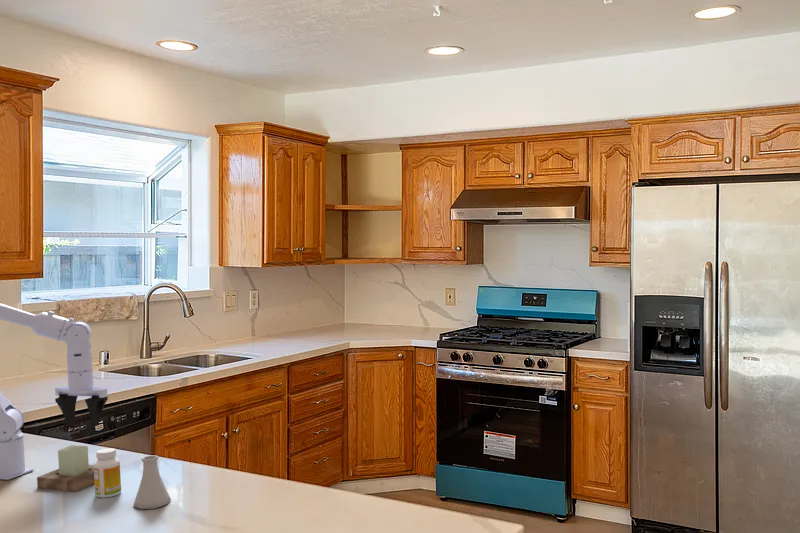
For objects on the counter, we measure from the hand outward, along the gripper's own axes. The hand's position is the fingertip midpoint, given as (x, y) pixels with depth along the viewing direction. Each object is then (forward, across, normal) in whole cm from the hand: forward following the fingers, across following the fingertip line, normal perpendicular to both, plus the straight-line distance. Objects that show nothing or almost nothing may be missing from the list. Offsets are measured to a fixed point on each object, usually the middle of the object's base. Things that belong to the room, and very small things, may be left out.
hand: (82, 425), depth 190 cm
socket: (+10, -7, +11) cm, 17 cm away
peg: (+10, -7, +11) cm, 17 cm away
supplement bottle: (+11, -21, +16) cm, 28 cm away
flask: (+11, -35, +19) cm, 41 cm away
